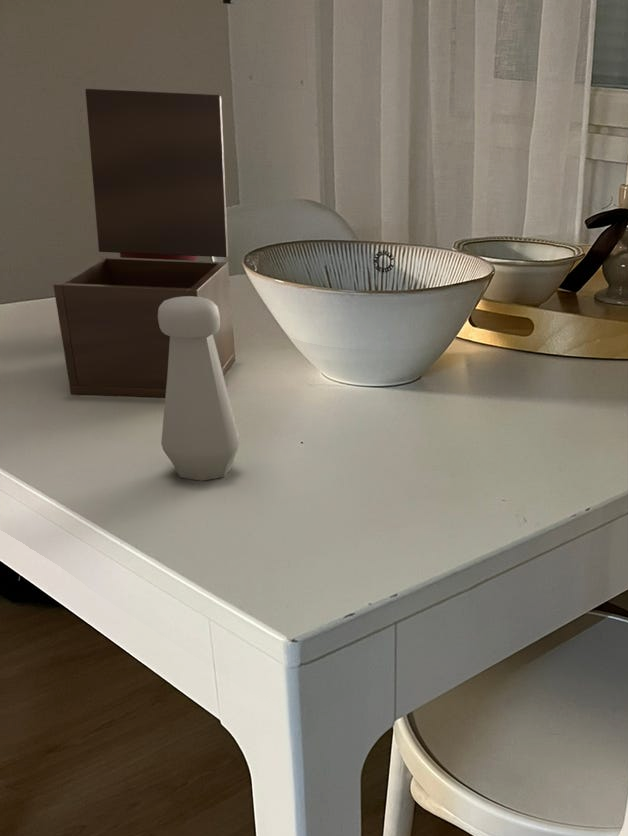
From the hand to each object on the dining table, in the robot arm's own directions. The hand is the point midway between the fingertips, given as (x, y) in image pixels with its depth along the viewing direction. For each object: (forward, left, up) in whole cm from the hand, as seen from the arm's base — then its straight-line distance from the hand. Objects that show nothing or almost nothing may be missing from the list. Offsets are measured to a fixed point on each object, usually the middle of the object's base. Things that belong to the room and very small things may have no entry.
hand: (161, 1), depth 104 cm
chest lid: (+1, -14, -15) cm, 20 cm away
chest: (+1, -21, -32) cm, 38 cm away
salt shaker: (+11, -46, -32) cm, 57 cm away
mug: (-3, -2, -32) cm, 32 cm away
